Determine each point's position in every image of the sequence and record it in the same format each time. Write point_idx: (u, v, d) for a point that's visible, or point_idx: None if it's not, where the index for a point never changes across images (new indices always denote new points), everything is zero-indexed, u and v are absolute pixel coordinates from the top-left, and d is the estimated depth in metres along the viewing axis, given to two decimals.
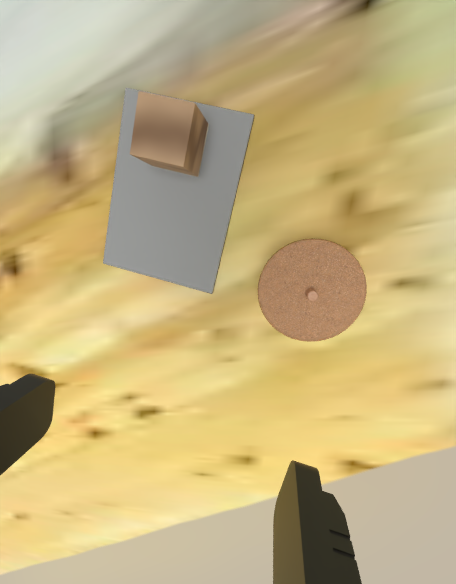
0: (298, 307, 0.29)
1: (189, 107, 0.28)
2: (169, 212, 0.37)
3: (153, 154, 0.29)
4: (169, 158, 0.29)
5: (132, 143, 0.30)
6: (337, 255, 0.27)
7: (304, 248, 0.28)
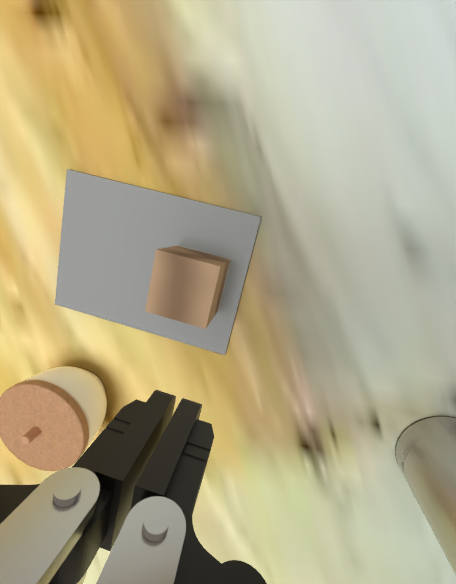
0: (21, 419, 0.30)
1: (201, 322, 0.26)
2: (131, 261, 0.32)
3: (156, 278, 0.26)
4: (152, 296, 0.26)
5: (167, 253, 0.25)
6: (71, 452, 0.30)
7: (73, 427, 0.29)
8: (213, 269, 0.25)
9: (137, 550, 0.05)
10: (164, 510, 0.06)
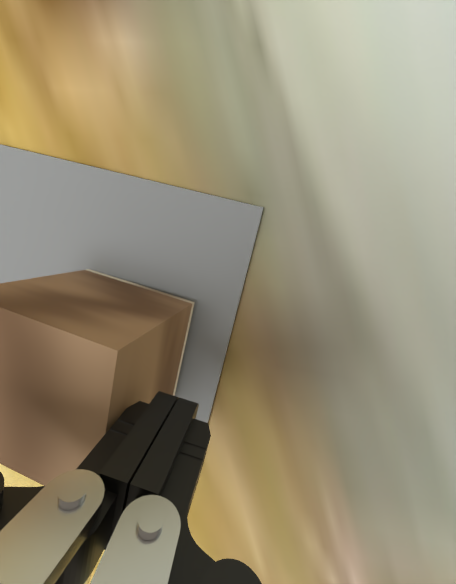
0: None
1: None
2: None
3: None
4: None
5: None
6: None
7: None
8: (99, 357, 0.08)
9: (131, 548, 0.05)
10: (159, 508, 0.06)
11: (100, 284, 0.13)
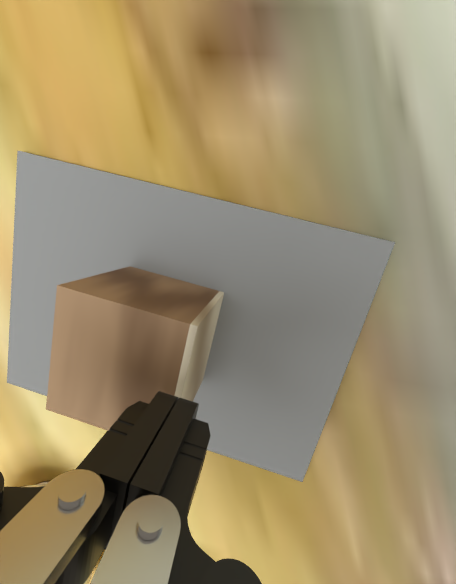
0: None
1: None
2: None
3: None
4: None
5: None
6: None
7: None
8: None
9: (131, 548, 0.05)
10: (159, 509, 0.06)
11: (189, 292, 0.15)
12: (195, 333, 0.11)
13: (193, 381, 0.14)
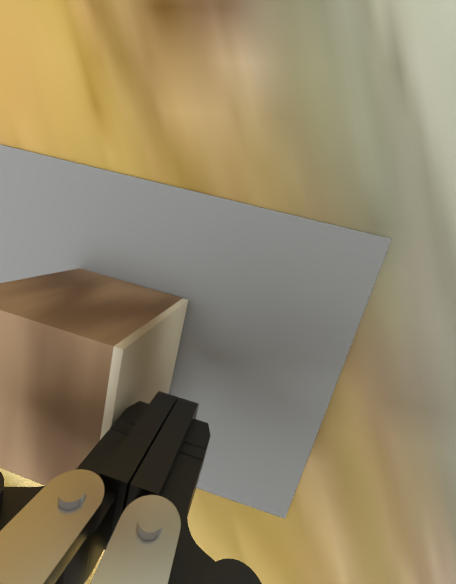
0: None
1: None
2: None
3: None
4: None
5: None
6: None
7: None
8: None
9: (131, 548, 0.05)
10: (159, 509, 0.06)
11: (139, 300, 0.12)
12: (121, 358, 0.08)
13: None
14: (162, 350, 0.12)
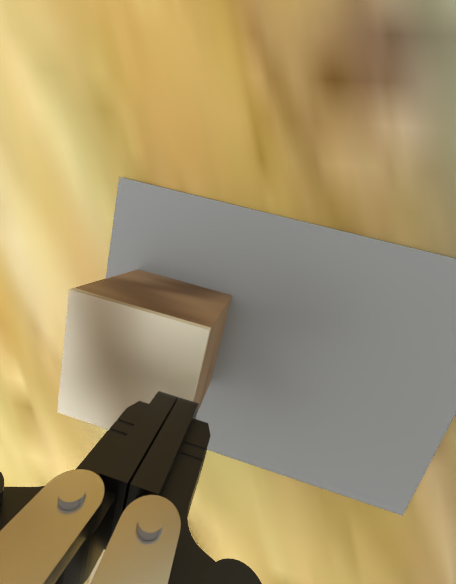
0: None
1: None
2: (235, 348, 0.17)
3: None
4: None
5: None
6: None
7: None
8: None
9: (131, 548, 0.05)
10: (159, 509, 0.06)
11: (175, 305, 0.13)
12: (69, 296, 0.12)
13: (106, 385, 0.12)
14: (143, 350, 0.12)
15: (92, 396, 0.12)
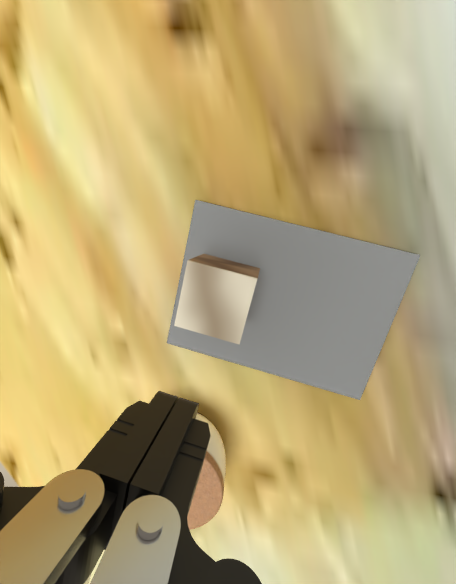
0: None
1: None
2: (261, 300, 0.29)
3: None
4: None
5: (249, 266, 0.29)
6: (206, 512, 0.27)
7: (212, 487, 0.27)
8: None
9: (131, 548, 0.05)
10: (159, 509, 0.06)
11: (236, 269, 0.25)
12: None
13: (202, 309, 0.24)
14: (223, 290, 0.24)
15: (194, 315, 0.25)
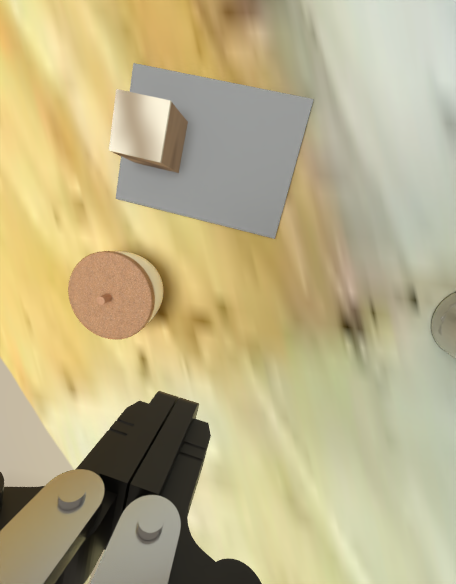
0: (94, 287, 0.33)
1: None
2: (190, 151, 0.35)
3: None
4: None
5: None
6: (139, 317, 0.33)
7: (143, 291, 0.32)
8: None
9: (131, 548, 0.05)
10: (159, 509, 0.06)
11: None
12: (116, 92, 0.30)
13: (130, 132, 0.30)
14: (145, 113, 0.29)
15: (124, 139, 0.30)
